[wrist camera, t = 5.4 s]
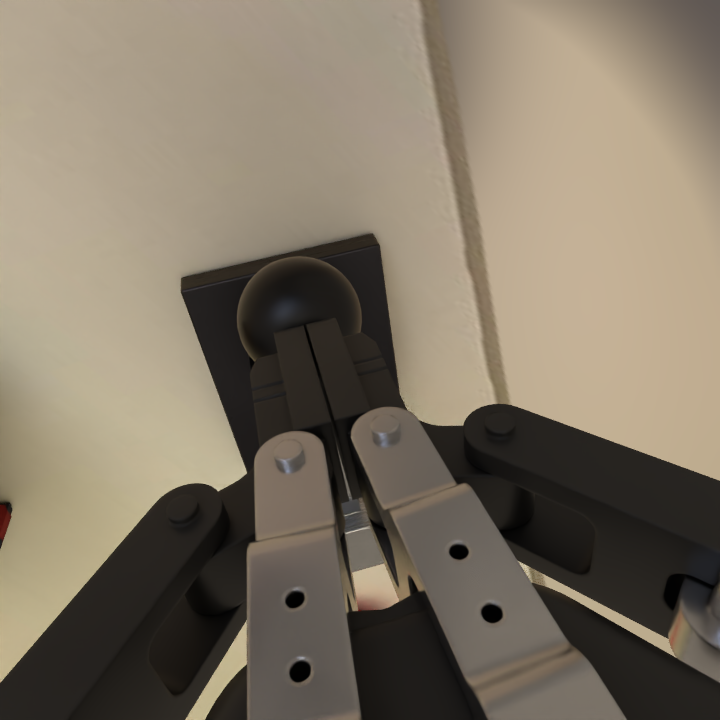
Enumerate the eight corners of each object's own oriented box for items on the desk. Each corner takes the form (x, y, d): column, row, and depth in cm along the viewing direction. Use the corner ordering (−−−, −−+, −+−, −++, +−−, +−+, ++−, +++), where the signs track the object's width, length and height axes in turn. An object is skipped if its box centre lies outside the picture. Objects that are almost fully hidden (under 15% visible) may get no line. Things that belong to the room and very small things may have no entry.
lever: (217, 248, 16) (228, 324, 13) (338, 221, 16) (368, 290, 14) (305, 519, 25) (320, 592, 22) (381, 498, 25) (404, 568, 23)
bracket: (180, 277, 27) (175, 482, 17) (372, 232, 28) (476, 402, 18) (247, 462, 35) (271, 683, 24) (399, 421, 35) (484, 619, 25)
